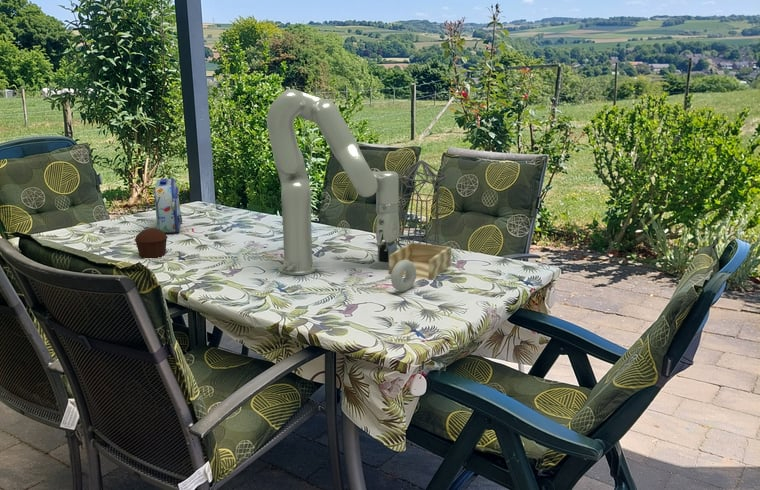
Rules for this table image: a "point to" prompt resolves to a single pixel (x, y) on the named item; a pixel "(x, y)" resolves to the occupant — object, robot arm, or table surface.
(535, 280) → the table surface
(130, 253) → the table surface
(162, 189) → the lunch box
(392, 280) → the donut
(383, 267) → the coaster
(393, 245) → the block
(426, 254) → the box
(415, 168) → the geometric lantern
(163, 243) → the muffin
